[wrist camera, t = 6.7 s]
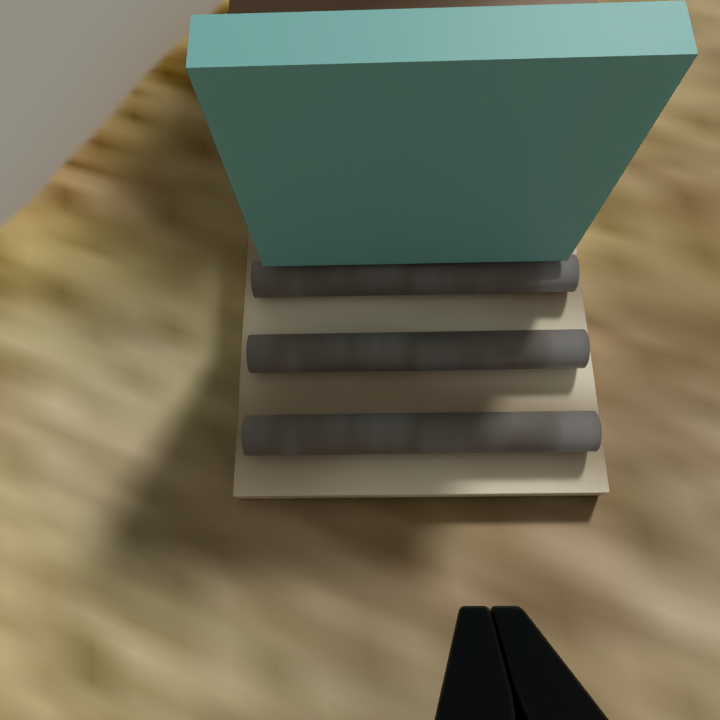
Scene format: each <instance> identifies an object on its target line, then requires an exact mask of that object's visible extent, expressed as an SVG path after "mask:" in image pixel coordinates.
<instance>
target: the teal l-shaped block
mask: <svg viewBox="0 0 720 720" xmlns="http://www.w3.org/2000/svg"><path fill="white" fill-rule="evenodd" d="M697 55H698V52H697V48H696V44H695V39H694V35H693V31H692V27H691V22H690V18H689V14H688V10H687V5H686V1H652V2H618V3H584V4H550V5H516V6H482V7H447V8H413V9H379V10H345V11H311V12H277V13H243V14H209V15H191V22H190V32H189V41H188V50H187V60H186V70H187V73H188V75H189V78H190V80H191V83H192V86H193V88H194V91H195V93H196V96H197V98H198V101H199V104H200V106H201V109H202V111H203V114H204V116H205V119H206V122H207V124H208V127H209V129H210V132H211V134H212V137H213V140H214V142H215V145H216V147H217V150H218V152H219V155H220V158H221V160H222V163H223V165H224V168H225V171H226V173H227V176H228V178H229V181H230V183H231V186H232V189H233V191H234V194H235V196H236V199H237V201H238V204H239V207H240V209H241V212H242V214H243V217H244V219H245V222H246V225H247V227H248V230H249V232H250V235H251V237H252V240H253V243H254V245H255V248H256V250H257V253H258V255H259V258H260V261H261V263H262V266H315V265H367V264H419V263H471V262H523V261H568V259H569V258H570V256H571V254H572V253H573V251H574V250H575V248H576V247H577V245H578V243H579V242H580V240H581V239H582V237H583V235H584V234H585V232H586V231H587V229H588V228H589V226H590V224H591V223H592V221H593V220H594V218H595V216H596V215H597V213H598V212H599V210H600V208H601V207H602V205H603V204H604V202H605V201H606V199H607V197H608V196H609V194H610V193H611V191H612V189H613V188H614V186H615V185H616V183H617V182H618V180H619V178H620V177H621V175H622V174H623V172H624V170H625V169H626V167H627V166H628V164H629V162H630V161H631V159H632V158H633V156H634V155H635V153H636V151H637V150H638V148H639V147H640V145H641V143H642V142H643V140H644V139H645V137H646V136H647V134H648V132H649V131H650V129H651V128H652V126H653V124H654V123H655V121H656V120H657V118H658V116H659V115H660V113H661V112H662V110H663V109H664V107H665V105H666V104H667V102H668V101H669V99H670V97H671V96H672V94H673V93H674V91H675V90H676V88H677V86H678V85H679V83H680V82H681V80H682V78H683V77H684V75H685V74H686V72H687V70H688V69H689V67H690V66H691V64H692V63H693V61H694V59H695V58H696V56H697Z"/></svg>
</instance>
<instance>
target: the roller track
mask: <svg viewBox="0 0 720 720" xmlns="http://www.w3.org/2000/svg"><path fill="white" fill-rule="evenodd" d="M584 3H597V1H596V0H230V1H229V13H228V14H243V13H277V12H311V11H345V10H379V9H413V8H447V7H482V6H516V5H550V4H584ZM606 493H609V486H608V479H607V472H606V464H605V457H604V450H603V442H602V430H601V423H600V419H599V413H598V406H597V398H596V391H595V383H594V376H593V369H592V361H591V354H590V341H589V337H588V332H587V325H586V317H585V310H584V303H583V295H582V288H581V280H580V273H579V262H578V258H577V251H576V248H575V250H574V251H573V253H572V254H571V256H570V258H569V259H568V261H523V262H471V263H419V264H367V265H315V266H262V263H261V261H260V258H259V255H258V253H257V250H256V248H255V245H254V243H253V240H252V237H251V235H250V232H249V230H248V247H247V264H246V281H245V298H244V315H243V332H242V349H241V366H240V383H239V400H238V417H237V434H236V451H235V468H234V485H233V496H234V497H236V498H238V499H293V498H394V497H495V496H596V495H602V494H606Z"/></svg>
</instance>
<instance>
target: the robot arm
mask: <svg viewBox="0 0 720 720" xmlns="http://www.w3.org/2000/svg"><path fill="white" fill-rule="evenodd" d="M435 720H609V719H608V718H607V717H606V716H605V714H604V713H603V712H602V710H601V709H600V708H599V706H598V705H597V704H596V703H595V701H594V700H593V699H592V697H591V696H590V695H589V694H588V692H587V691H586V690H585V688H584V687H583V686H582V685H581V683H580V682H579V681H578V679H577V678H576V677H575V676H574V674H573V673H572V672H571V670H570V669H569V668H568V667H567V665H566V664H565V663H564V661H563V660H562V659H561V658H560V656H559V655H558V654H557V652H556V651H555V650H554V649H553V647H552V646H551V645H550V643H549V642H548V641H547V639H546V638H545V637H544V636H543V634H542V633H541V632H540V630H539V629H538V628H537V627H536V625H535V624H534V623H533V621H532V620H531V619H530V618H529V616H528V615H527V614H526V612H525V611H524V610H523V609H522V608H520V607H518V606H494V607H492V608H491V609H490V610H489V608H488V607H486V606H463V607H461V608H460V609H459V613H458V617H457V621H456V626H455V630H454V635H453V639H452V644H451V648H450V653H449V657H448V662H447V666H446V671H445V675H444V680H443V684H442V689H441V693H440V698H439V702H438V707H437V711H436V716H435Z"/></svg>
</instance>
